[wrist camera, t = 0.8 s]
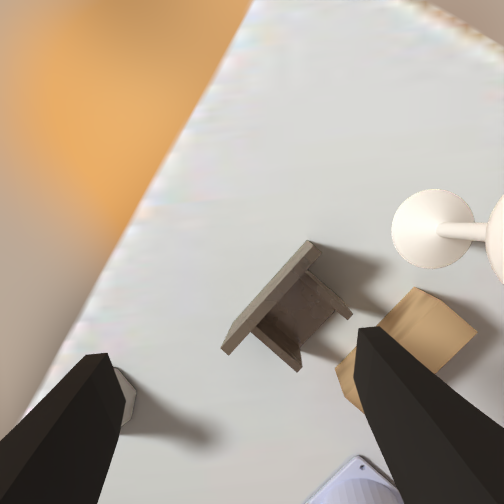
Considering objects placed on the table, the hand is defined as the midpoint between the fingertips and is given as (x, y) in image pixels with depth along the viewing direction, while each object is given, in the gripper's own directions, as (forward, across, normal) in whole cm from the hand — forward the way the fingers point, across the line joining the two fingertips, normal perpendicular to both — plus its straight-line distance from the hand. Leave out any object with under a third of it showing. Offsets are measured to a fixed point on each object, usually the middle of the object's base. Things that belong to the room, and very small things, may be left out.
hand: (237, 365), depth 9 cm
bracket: (+16, -5, +11) cm, 20 cm away
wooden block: (+14, -12, +14) cm, 23 cm away
